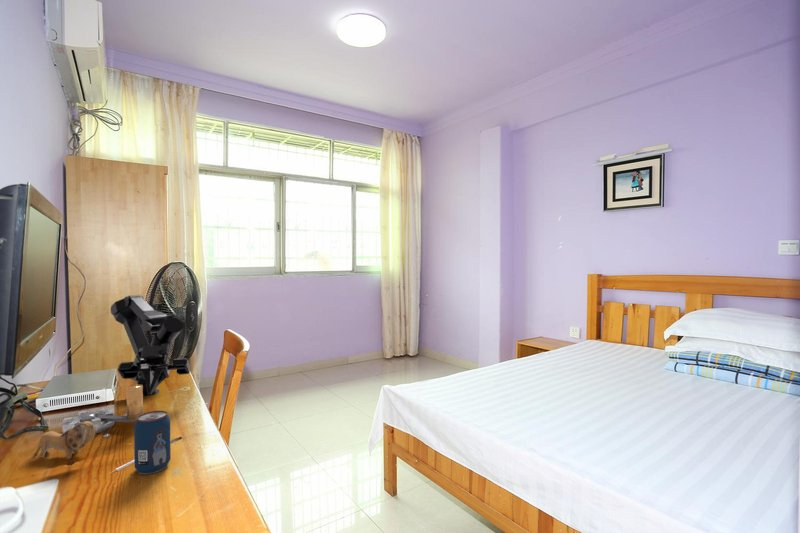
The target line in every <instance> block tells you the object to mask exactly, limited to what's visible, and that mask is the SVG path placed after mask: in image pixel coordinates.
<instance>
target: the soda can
mask: <svg viewBox="0 0 800 533" xmlns="http://www.w3.org/2000/svg"><path fill="white" fill-rule="evenodd" d="M133 429H134V431H133V432H134V433H133V436H134V438H133V441H134V442H133V444H134V445H133V447H134V450H133V452H134V457H133V458H134V459H133V460H134V463H133V464H134V468H135V470H136V472H138V473H139V474H140V475H152V474H156V473H158V472H161V471H162V470H164V469H165V468H167V466H168V464H169V463H170V462H171V458H172V457H171V444H170V442H171V419H170V417H169V415H168V411H165V410H151V411H148V412H145V413H144V412H143V414H142V415H140V416H139V417H138V418H137V421H135V424H134V426H133Z"/></svg>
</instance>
